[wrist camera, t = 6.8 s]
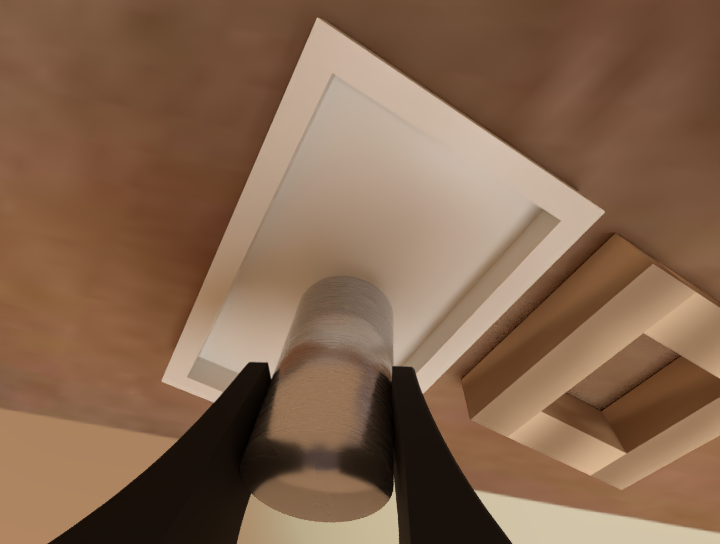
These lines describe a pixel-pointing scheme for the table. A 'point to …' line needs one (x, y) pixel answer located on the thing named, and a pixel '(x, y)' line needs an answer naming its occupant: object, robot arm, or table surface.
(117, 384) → the table surface
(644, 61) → the table surface
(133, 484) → the robot arm
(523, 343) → the block
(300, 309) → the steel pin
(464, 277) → the tray
